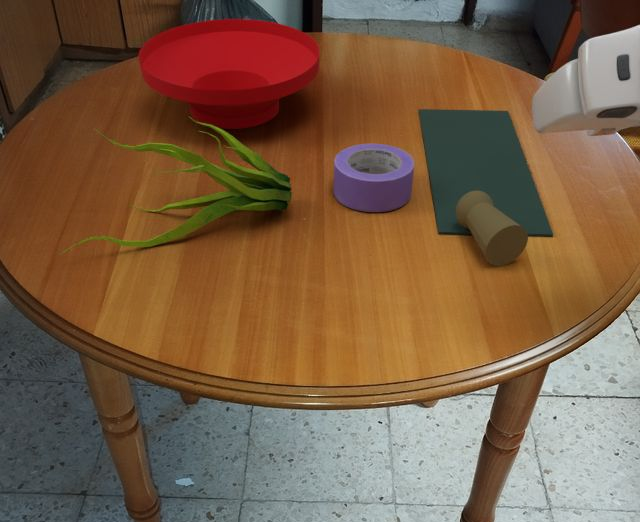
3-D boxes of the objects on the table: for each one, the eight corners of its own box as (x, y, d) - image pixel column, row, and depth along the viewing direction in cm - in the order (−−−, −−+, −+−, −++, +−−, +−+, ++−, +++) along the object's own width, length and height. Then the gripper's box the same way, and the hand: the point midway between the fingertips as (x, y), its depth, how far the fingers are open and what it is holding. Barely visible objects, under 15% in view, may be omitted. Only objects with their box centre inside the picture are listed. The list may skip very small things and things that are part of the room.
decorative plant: (95, 197, 101) (68, 95, 90) (294, 199, 101) (291, 97, 90) (62, 267, 89) (27, 160, 78) (288, 270, 89) (283, 163, 78)
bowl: (206, 66, 135) (199, 9, 127) (346, 93, 126) (348, 34, 119) (114, 127, 116) (100, 66, 109) (270, 165, 108) (267, 100, 100)
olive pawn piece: (525, 258, 90) (487, 215, 97) (530, 219, 86) (489, 177, 92) (484, 271, 90) (448, 228, 97) (486, 233, 85) (448, 191, 92)
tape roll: (334, 172, 106) (335, 141, 102) (408, 174, 106) (412, 143, 102) (332, 212, 98) (333, 180, 95) (413, 214, 98) (417, 182, 94)
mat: (418, 111, 121) (418, 108, 121) (507, 112, 121) (508, 110, 121) (438, 234, 95) (438, 231, 94) (552, 236, 94) (553, 234, 94)
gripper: (781, 26, 62) (685, 92, 75) (568, 40, 60) (508, 105, 73) (786, 97, 62) (689, 150, 76) (574, 112, 60) (514, 164, 74)
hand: (599, 128), depth 75 cm, fingers closed
